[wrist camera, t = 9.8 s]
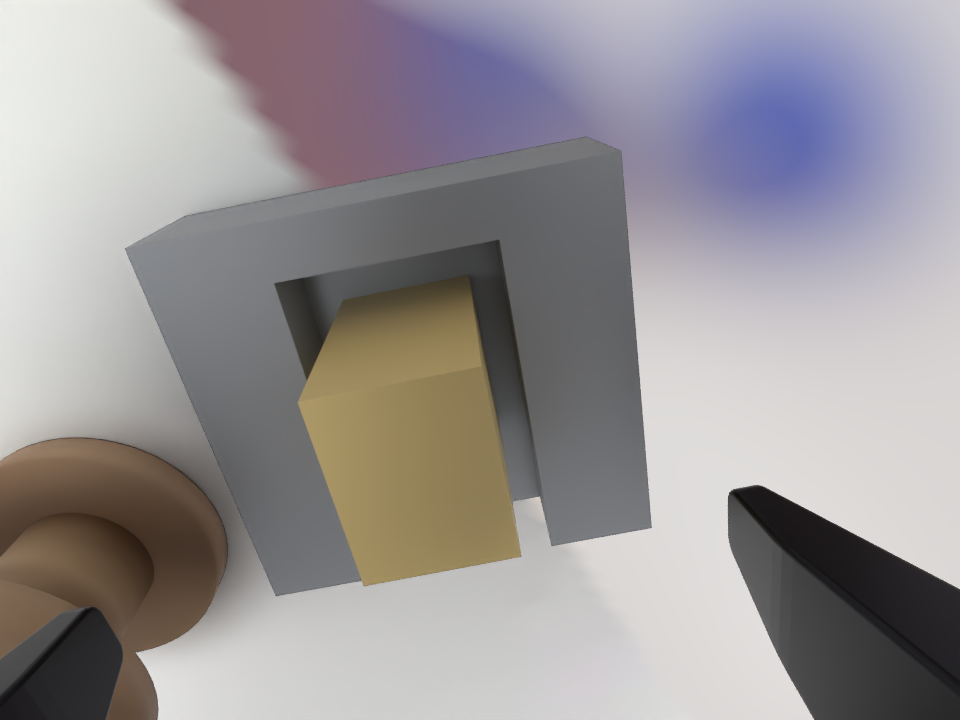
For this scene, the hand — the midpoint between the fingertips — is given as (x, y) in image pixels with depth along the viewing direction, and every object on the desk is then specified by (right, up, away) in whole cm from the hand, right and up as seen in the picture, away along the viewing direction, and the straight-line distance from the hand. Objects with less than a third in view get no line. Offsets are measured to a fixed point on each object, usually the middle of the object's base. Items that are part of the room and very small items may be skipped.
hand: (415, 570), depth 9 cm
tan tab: (0, +3, +7) cm, 7 cm away
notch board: (0, +3, +7) cm, 8 cm away
